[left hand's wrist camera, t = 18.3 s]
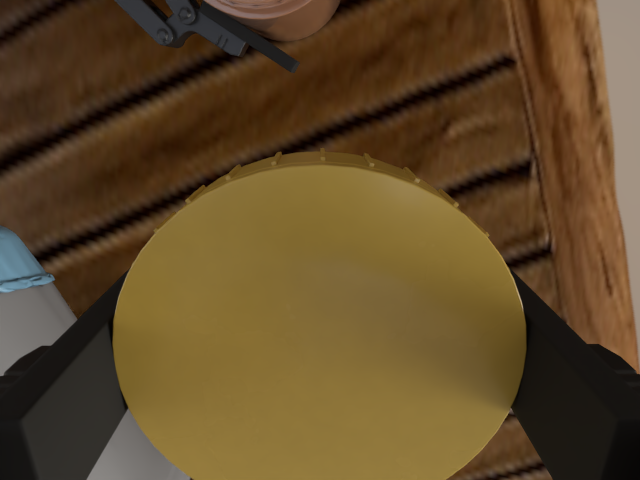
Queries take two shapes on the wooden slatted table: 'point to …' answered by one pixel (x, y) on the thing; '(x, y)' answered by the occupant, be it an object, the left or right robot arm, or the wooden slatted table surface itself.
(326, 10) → the jar
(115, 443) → the left robot arm
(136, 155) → the wooden slatted table surface
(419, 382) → the lid
